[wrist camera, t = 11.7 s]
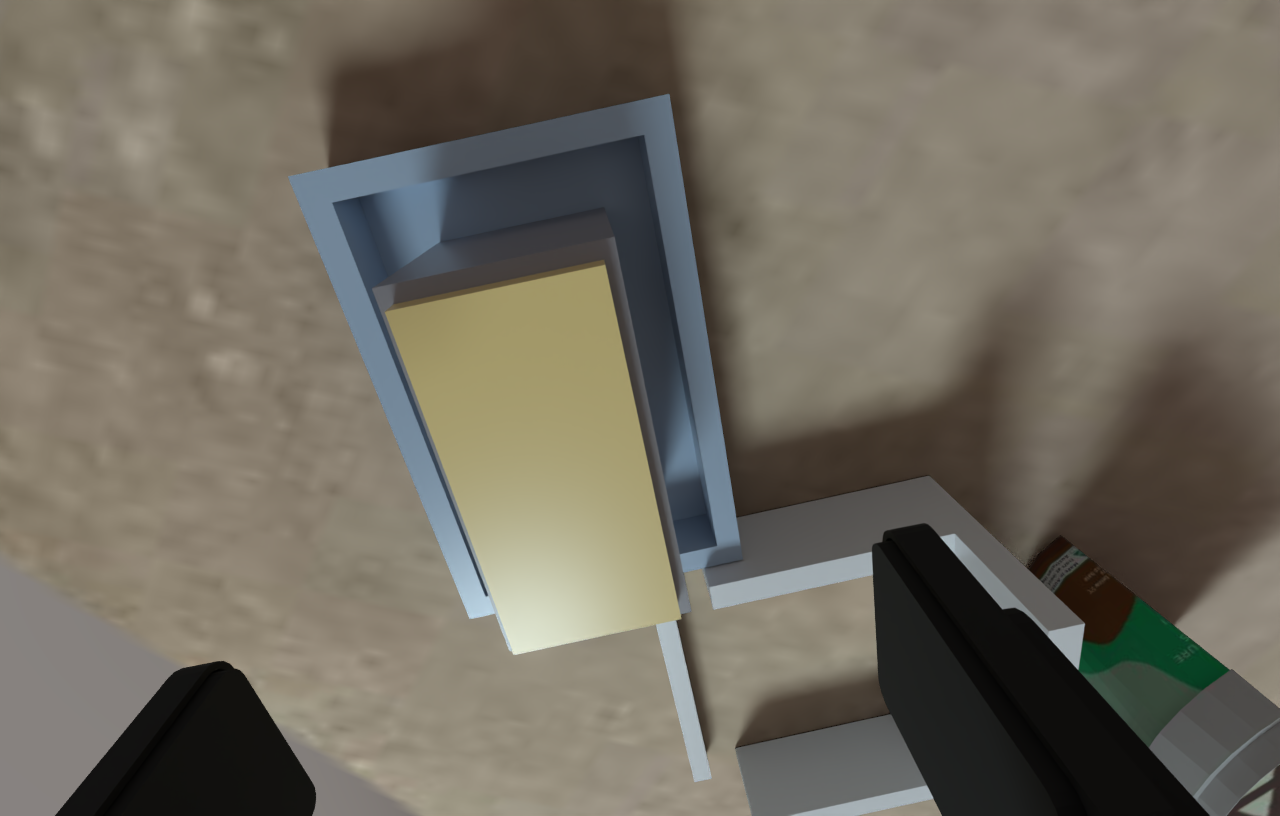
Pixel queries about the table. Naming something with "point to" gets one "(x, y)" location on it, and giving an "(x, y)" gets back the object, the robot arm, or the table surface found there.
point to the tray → (519, 194)
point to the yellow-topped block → (542, 426)
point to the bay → (830, 553)
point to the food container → (1170, 690)
